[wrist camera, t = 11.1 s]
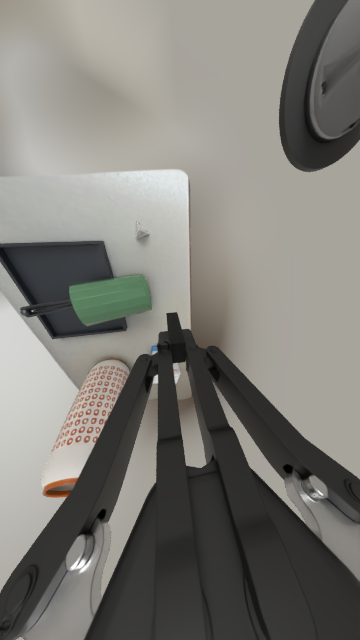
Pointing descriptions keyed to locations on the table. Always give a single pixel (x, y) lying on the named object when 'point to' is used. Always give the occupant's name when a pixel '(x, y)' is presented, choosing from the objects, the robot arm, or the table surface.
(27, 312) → the tongs
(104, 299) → the cup
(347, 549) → the robot arm
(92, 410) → the vase
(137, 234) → the tetrahedral die
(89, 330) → the tray
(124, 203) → the table surface
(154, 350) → the ink box
